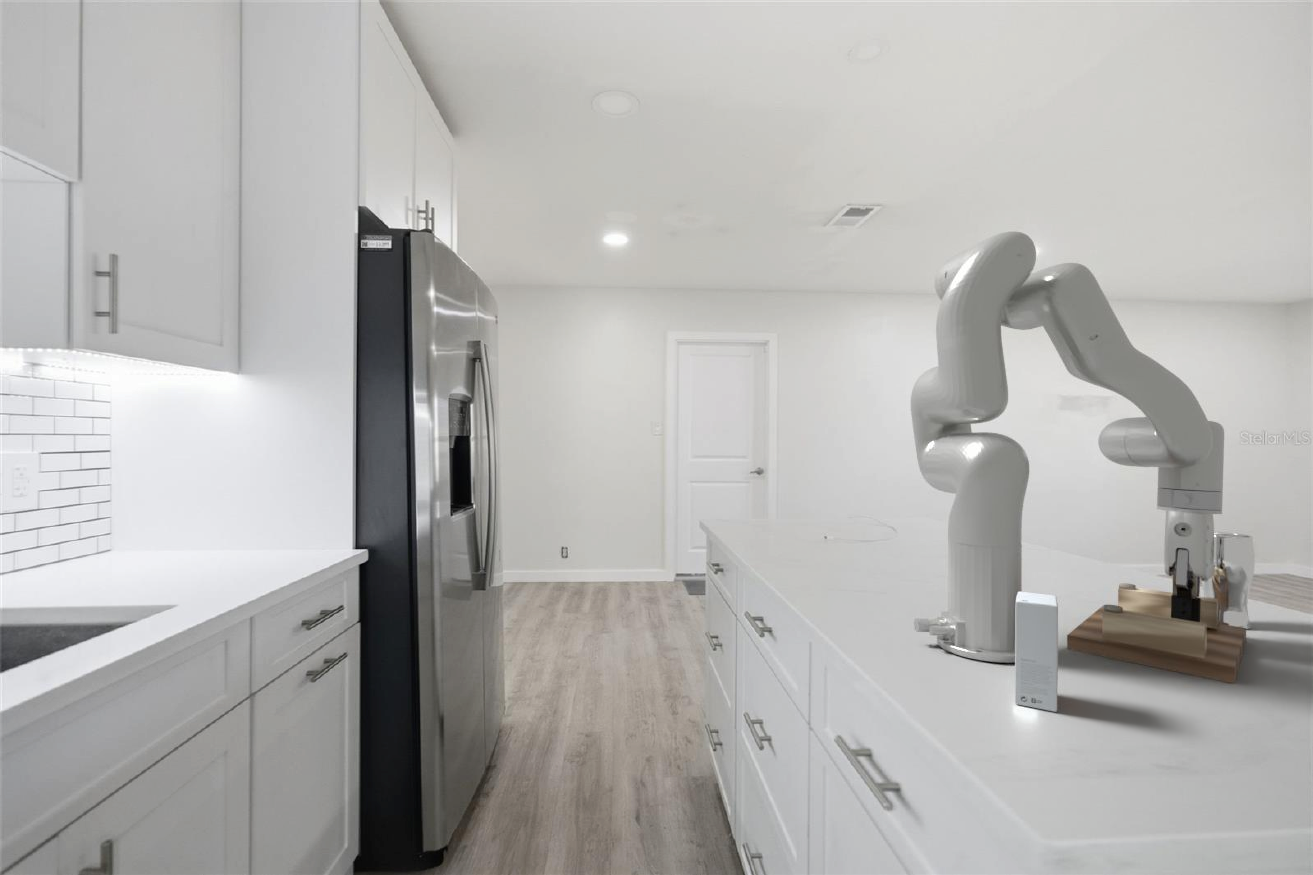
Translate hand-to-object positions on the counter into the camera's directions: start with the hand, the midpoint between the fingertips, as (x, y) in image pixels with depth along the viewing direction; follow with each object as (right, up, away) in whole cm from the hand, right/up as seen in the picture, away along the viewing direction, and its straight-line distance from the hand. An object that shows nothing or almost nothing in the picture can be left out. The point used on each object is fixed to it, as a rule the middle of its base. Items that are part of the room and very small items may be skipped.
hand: (1185, 622), depth 94 cm
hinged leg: (+1, -1, +5) cm, 5 cm away
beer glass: (+15, -3, +10) cm, 18 cm away
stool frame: (-5, -3, -1) cm, 6 cm away
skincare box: (-35, -3, -21) cm, 41 cm away
